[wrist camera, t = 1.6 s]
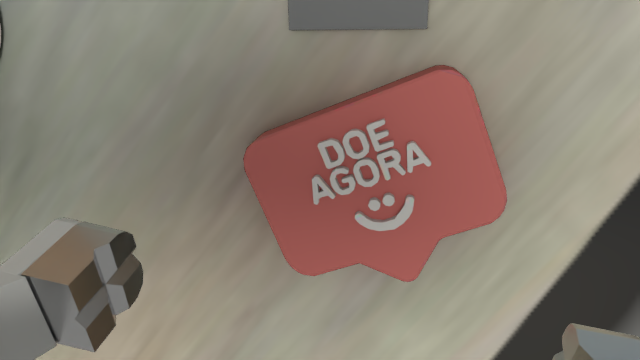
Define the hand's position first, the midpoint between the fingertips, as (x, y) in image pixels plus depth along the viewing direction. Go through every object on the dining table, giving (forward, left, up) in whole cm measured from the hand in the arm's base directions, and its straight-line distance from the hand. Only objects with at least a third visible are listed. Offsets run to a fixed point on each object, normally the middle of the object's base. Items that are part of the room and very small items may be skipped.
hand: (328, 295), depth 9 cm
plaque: (0, -8, -31) cm, 32 cm away
